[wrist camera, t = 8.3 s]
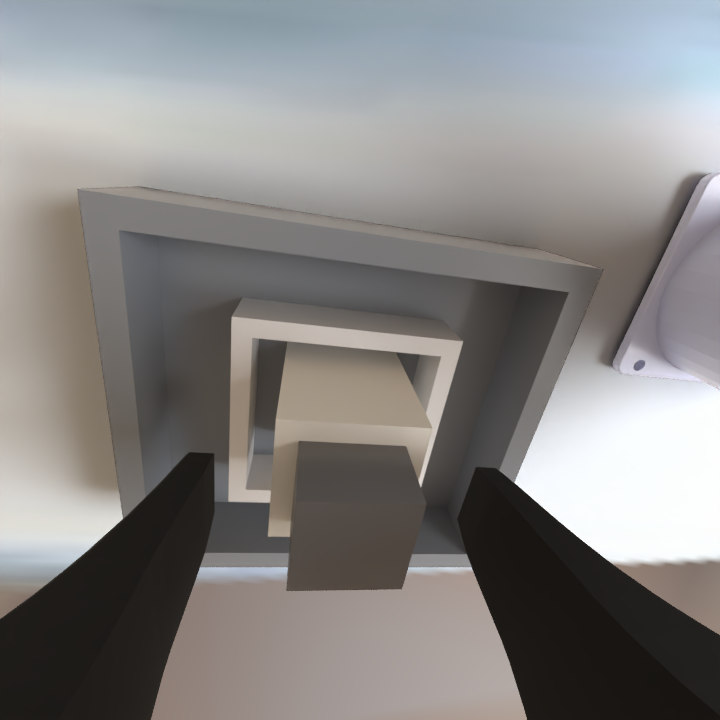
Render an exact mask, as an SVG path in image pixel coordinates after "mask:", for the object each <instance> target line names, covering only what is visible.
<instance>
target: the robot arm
mask: <svg viewBox="0 0 720 720" xmlns="http://www.w3.org/2000/svg"><path fill="white" fill-rule="evenodd" d="M637 361H638V362H637ZM636 362H637V364H636V365H634V364H635V363H636ZM613 368H614V369H615V370H616V371H618V372H619V373H622V374H627V375H637V376H647V377H657V378H667V379H677V380H687V381H697V382H706V383H708V384H710V385H712V386H714V387H716V388H718V389H720V173H710V174H708V175H706V176H704V177H703V178H702V179H701V180H700V182H699V183H698V185H697V186H696V188H695V190H694V193H693V195H692V197H691V199H690V201H689V203H688V205H687V207H686V209H685V211H684V214H683V216H682V218H681V220H680V222H679V224H678V226H677V228H676V230H675V232H674V234H673V237H672V239H671V241H670V243H669V245H668V247H667V249H666V251H665V253H664V255H663V258H662V260H661V262H660V264H659V266H658V268H657V270H656V272H655V274H654V276H653V278H652V281H651V283H650V285H649V287H648V289H647V291H646V293H645V295H644V297H643V299H642V302H641V304H640V306H639V308H638V310H637V312H636V314H635V316H634V318H633V320H632V322H631V325H630V327H629V329H628V331H627V333H626V335H625V337H624V339H623V341H622V343H621V346H620V348H619V350H618V352H617V354H616V356H615V358H614V360H613ZM214 513H215V476H214V453H197V452H189V453H188V454H186V455H185V456H184V457H183V458H182V459H181V460H180V461H179V463H178V464H177V465H176V466H175V467H174V468H173V469H172V470H171V471H170V472H169V473H168V475H167V476H166V477H165V478H164V479H163V480H162V481H161V482H160V483H159V484H158V485H157V486H156V487H155V488H154V489H153V490H152V491H151V492H150V493H149V494H148V495H147V496H146V497H145V498H144V499H143V500H142V501H141V502H140V503H139V504H138V505H137V506H136V507H135V508H134V509H133V510H132V511H131V512H130V513H129V514H128V515H127V516H126V517H125V518H124V519H123V520H121V521H120V522H119V523H118V524H117V525H116V526H115V527H114V528H113V529H111V530H110V531H109V532H108V533H107V534H106V535H105V536H104V537H103V538H101V539H100V540H99V541H98V542H97V543H96V544H95V545H94V546H93V547H91V548H90V549H89V550H88V551H87V552H86V553H84V554H83V555H82V556H81V557H80V558H79V559H77V560H76V561H75V562H74V563H73V564H71V565H70V566H69V567H68V568H66V569H65V570H64V571H63V572H62V573H60V574H59V575H58V576H57V577H55V578H54V579H53V580H52V581H50V582H49V583H48V584H46V585H45V586H44V587H43V588H41V589H40V590H39V591H38V592H36V593H35V594H34V595H32V596H31V597H30V598H28V599H27V600H26V601H24V602H23V603H22V604H20V605H19V606H17V607H16V608H15V609H13V610H12V611H11V612H9V613H8V614H7V615H5V616H4V617H3V618H1V619H0V720H151V717H152V713H153V709H154V705H155V701H156V698H157V694H158V690H159V687H160V683H161V679H162V676H163V672H164V669H165V666H166V663H167V659H168V656H169V653H170V650H171V647H172V644H173V641H174V639H175V636H176V633H177V630H178V628H179V624H180V622H181V619H182V616H183V614H184V611H185V608H186V605H187V602H188V599H189V597H190V594H191V591H192V588H193V585H194V583H195V580H196V577H197V574H198V571H199V568H200V565H201V563H202V560H203V557H204V554H205V551H206V547H207V542H208V538H209V534H210V530H211V526H212V521H213V517H214ZM457 520H458V524H459V528H460V532H461V536H462V539H463V543H464V546H465V550H466V553H467V556H468V559H469V561H470V564H471V566H472V569H473V571H474V574H475V576H476V579H477V581H478V584H479V586H480V589H481V591H482V594H483V596H484V599H485V601H486V603H487V606H488V608H489V611H490V613H491V616H492V618H493V620H494V623H495V625H496V628H497V630H498V633H499V635H500V637H501V640H502V642H503V645H504V648H505V651H506V653H507V656H508V659H509V661H510V665H511V668H512V671H513V674H514V678H515V680H516V684H517V687H518V690H519V694H520V697H521V700H522V703H523V706H524V710H525V713H526V717H527V720H720V635H719V634H717V633H715V632H714V631H712V630H710V629H709V628H707V627H705V626H704V625H702V624H701V623H699V622H697V621H695V620H694V619H693V618H691V617H689V616H688V615H686V614H685V613H683V612H681V611H680V610H678V609H676V608H675V607H673V606H672V605H670V604H669V603H667V602H666V601H664V600H663V599H661V598H660V597H658V596H657V595H655V594H654V593H652V592H651V591H649V590H648V589H647V588H645V587H644V586H642V585H641V584H639V583H638V582H637V581H635V580H634V579H632V578H631V577H629V576H628V575H627V574H625V573H624V572H622V571H621V570H619V569H618V568H617V567H616V566H614V565H613V564H611V563H610V562H609V561H607V560H606V559H605V558H604V557H602V556H601V555H600V554H598V553H597V552H596V551H595V550H593V549H592V548H591V547H590V546H588V545H587V544H586V543H584V542H583V541H582V540H581V539H579V538H578V537H577V536H576V535H574V534H573V533H572V532H571V531H570V530H568V529H567V528H566V527H565V526H564V525H562V524H561V523H560V522H559V521H558V520H556V519H555V518H554V517H553V516H552V515H551V514H549V513H548V512H547V511H546V510H545V509H544V508H542V507H541V506H540V505H539V504H538V503H537V502H536V501H534V500H533V499H532V498H531V497H530V496H529V495H527V494H526V493H525V492H524V491H523V490H522V489H521V488H519V487H518V486H517V485H516V484H515V483H514V482H512V481H511V480H510V479H509V478H508V477H506V476H505V475H504V474H503V473H501V472H500V471H499V470H498V469H496V468H488V467H476V468H475V471H474V474H473V476H472V479H471V482H470V485H469V488H468V490H467V493H466V496H465V499H464V501H463V504H462V507H461V510H460V513H459V515H458V518H457Z"/></svg>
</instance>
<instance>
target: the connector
mask: <svg viewBox="0 0 720 720" xmlns="http://www.w3.org/2000/svg"><path fill="white" fill-rule="evenodd" d="M432 430H433V428H432V426H431V424H430V421H429V419H428V417H427V415H426V413H425V411H424V409H423V407H422V405H421V403H420V401H419V399H418V397H417V395H416V393H415V391H414V389H413V387H412V384H411V382H410V380H409V378H408V376H407V374H406V372H405V370H404V368H403V366H402V364H401V362H400V360H399V358H398V356H397V354H396V352H390V351H380V350H370V349H360V348H350V347H340V346H330V345H320V344H310V343H300V342H290V341H287V348H286V355H285V361H284V368H283V375H282V381H281V388H280V394H279V401H278V408H277V414H276V423H275V438H274V453H273V468H272V482H271V497H270V512H269V527H268V537H290V541H289V557H288V573H287V589H286V590H287V591H306V590H307V591H308V590H309V591H310V590H311V591H312V590H372V589H373V590H378V589H402V586H403V583H404V580H405V577H406V573H407V570H408V566H409V563H410V560H411V556H412V553H413V550H414V546H415V543H416V539H417V536H418V533H419V529H420V526H421V523H422V519H423V516H424V512H425V509H426V506H427V504H426V501H425V498H424V495H423V492H422V490H421V487H420V484H419V477H420V474H421V470H422V467H423V463H424V459H425V456H426V452H427V448H428V445H429V441H430V437H431V434H432Z"/></svg>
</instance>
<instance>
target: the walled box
mask: <svg viewBox="0 0 720 720" xmlns="http://www.w3.org/2000/svg"><path fill="white" fill-rule="evenodd" d="M78 196H79V204H80V211H81V218H82V225H83V232H84V240H85V247H86V254H87V261H88V269H89V276H90V283H91V290H92V297H93V305H94V312H95V319H96V326H97V334H98V341H99V348H100V355H101V362H102V370H103V377H104V384H105V391H106V399H107V406H108V413H109V420H110V427H111V435H112V442H113V449H114V456H115V464H116V471H117V478H118V485H119V492H120V500H121V507H122V514H123V519H124V518H125V517H126V516H127V515H128V514H129V513H130V512H131V511H132V510H133V509H134V508H135V507H136V506H137V505H138V504H139V503H140V502H141V501H142V500H143V499H144V498H145V497H146V496H147V495H148V494H149V493H150V492H151V491H152V490H153V489H154V488H155V487H156V486H157V485H158V484H159V483H160V482H161V481H162V480H163V479H164V478H165V477H166V476H167V475H168V473H169V472H170V471H171V470H172V469H173V468H174V467H175V466H176V465H177V464H178V463H179V461H180V460H181V459H182V458H183V457H184V456H185V455H186V454H188V453H189V452H197V453H214V476H215V513H214V517H213V521H212V526H211V530H210V534H209V538H208V542H207V547H206V551H205V554H204V557H203V560H202V563H201V565H200V567H288V557H289V541H290V537H268V527H269V512H270V497H271V482H272V468H273V453H274V438H275V423H276V414H277V408H278V401H279V394H280V388H281V381H282V375H283V368H284V361H285V355H286V348H287V341H290V342H300V343H310V344H320V345H330V346H340V347H350V348H360V349H370V350H380V351H390V352H396V354H397V356H398V358H399V360H400V362H401V364H402V366H403V368H404V370H405V372H406V374H407V376H408V378H409V380H410V382H411V384H412V387H413V389H414V391H415V393H416V395H417V397H418V399H419V401H420V403H421V405H422V407H423V409H424V411H425V413H426V415H427V417H428V419H429V421H430V424H431V426H432V428H433V430H432V434H431V437H430V441H429V445H428V448H427V452H426V456H425V459H424V463H423V467H422V470H421V474H420V477H419V484H420V487H421V490H422V492H423V495H424V498H425V501H426V504H427V506H426V509H425V512H424V516H423V519H422V523H421V526H420V529H419V533H418V536H417V539H416V543H415V546H414V550H413V553H412V556H411V560H410V563H409V566H408V567H472V566H471V564H470V561H469V559H468V556H467V553H466V550H465V546H464V543H463V539H462V536H461V532H460V528H459V524H458V520H457V518H458V515H459V513H460V510H461V507H462V504H463V501H464V499H465V496H466V493H467V490H468V488H469V485H470V482H471V479H472V476H473V474H474V471H475V468H476V467H488V468H496V469H498V470H499V471H500V472H501V473H503V474H504V475H505V476H506V477H508V478H509V479H510V480H511V481H512V482H514V481H515V479H516V477H517V474H518V472H519V470H520V467H521V465H522V462H523V460H524V458H525V455H526V453H527V450H528V448H529V446H530V443H531V441H532V439H533V436H534V434H535V431H536V429H537V427H538V424H539V422H540V420H541V417H542V415H543V412H544V410H545V408H546V405H547V403H548V400H549V398H550V396H551V393H552V391H553V389H554V386H555V384H556V381H557V379H558V377H559V374H560V372H561V369H562V367H563V365H564V362H565V360H566V358H567V355H568V353H569V350H570V348H571V346H572V343H573V341H574V338H575V336H576V334H577V331H578V329H579V327H580V324H581V322H582V319H583V317H584V315H585V312H586V310H587V307H588V305H589V303H590V300H591V298H592V296H593V293H594V291H595V288H596V286H597V284H598V281H599V279H600V276H601V274H602V272H603V269H601V268H598V267H595V266H591V265H588V264H585V263H582V262H578V261H575V260H572V259H569V258H565V257H562V256H559V255H556V254H552V253H549V252H546V251H543V250H539V249H533V248H526V247H520V246H514V245H507V244H501V243H495V242H488V241H482V240H476V239H469V238H463V237H457V236H450V235H444V234H438V233H431V232H425V231H418V230H412V229H406V228H399V227H393V226H387V225H380V224H374V223H368V222H361V221H355V220H349V219H342V218H336V217H329V216H323V215H317V214H310V213H304V212H298V211H291V210H285V209H279V208H272V207H266V206H260V205H253V204H247V203H240V202H234V201H228V200H221V199H215V198H209V197H202V196H196V195H190V194H183V193H177V192H171V191H164V190H158V189H152V188H145V187H116V188H91V189H78Z"/></svg>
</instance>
